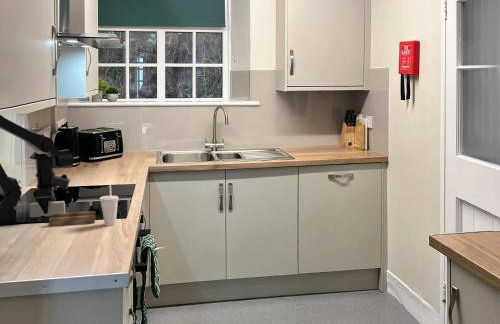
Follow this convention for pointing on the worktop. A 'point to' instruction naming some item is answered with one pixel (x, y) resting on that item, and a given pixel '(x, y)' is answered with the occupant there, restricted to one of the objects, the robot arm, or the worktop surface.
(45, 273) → the worktop surface
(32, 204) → the clay strip
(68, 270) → the worktop surface
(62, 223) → the wooden block
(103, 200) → the smoothie
